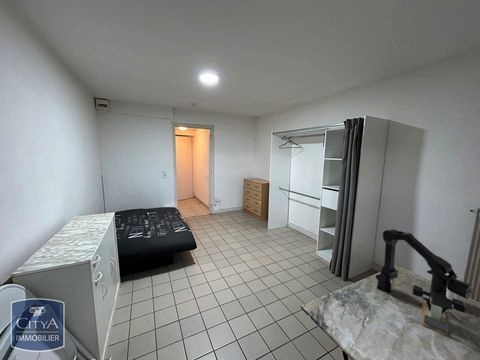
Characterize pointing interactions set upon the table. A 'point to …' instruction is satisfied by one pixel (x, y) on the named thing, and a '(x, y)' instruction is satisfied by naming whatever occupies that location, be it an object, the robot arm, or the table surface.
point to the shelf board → (426, 312)
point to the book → (435, 312)
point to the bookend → (435, 323)
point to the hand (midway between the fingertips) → (435, 312)
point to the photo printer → (451, 295)
